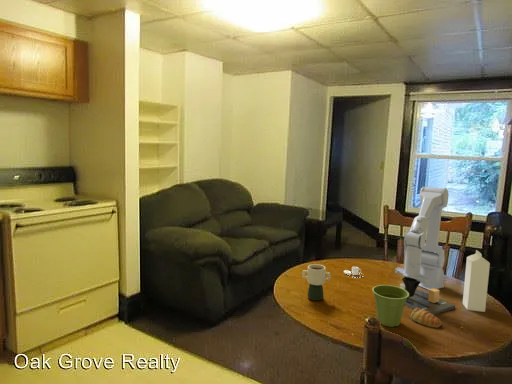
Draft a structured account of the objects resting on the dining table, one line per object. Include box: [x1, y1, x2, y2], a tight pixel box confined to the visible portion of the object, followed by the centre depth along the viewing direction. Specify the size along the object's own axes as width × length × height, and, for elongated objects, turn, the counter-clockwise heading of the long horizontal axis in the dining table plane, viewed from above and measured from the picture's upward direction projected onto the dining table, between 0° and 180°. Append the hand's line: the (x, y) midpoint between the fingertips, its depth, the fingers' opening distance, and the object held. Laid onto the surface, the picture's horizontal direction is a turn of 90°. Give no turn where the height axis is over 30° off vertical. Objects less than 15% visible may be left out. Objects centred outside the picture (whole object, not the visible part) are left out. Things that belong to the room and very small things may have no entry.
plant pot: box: [372, 284, 409, 328], centre depth 124 cm, size 12×12×11 cm
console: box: [404, 288, 456, 315], centre depth 143 cm, size 15×22×1 cm
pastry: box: [410, 308, 442, 329], centre depth 125 cm, size 9×7×4 cm
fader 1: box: [399, 282, 406, 290], centre depth 144 cm, size 3×2×4 cm
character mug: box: [301, 263, 331, 301], centre depth 142 cm, size 11×7×13 cm, turn 78°
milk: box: [462, 249, 491, 313], centre depth 136 cm, size 6×6×22 cm
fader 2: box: [428, 288, 441, 303], centre depth 139 cm, size 3×2×4 cm
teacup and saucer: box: [343, 265, 364, 279], centre depth 171 cm, size 9×8×4 cm
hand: (410, 296), depth 141 cm, fingers closed
